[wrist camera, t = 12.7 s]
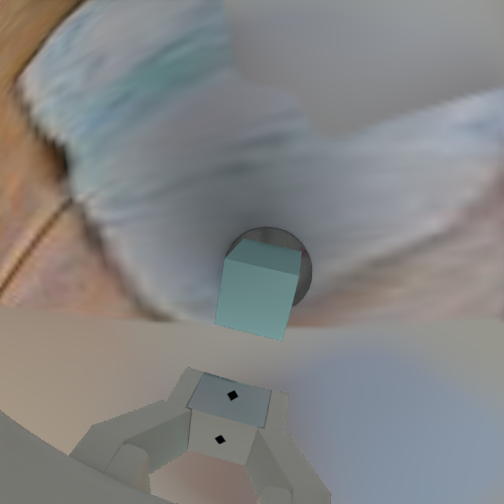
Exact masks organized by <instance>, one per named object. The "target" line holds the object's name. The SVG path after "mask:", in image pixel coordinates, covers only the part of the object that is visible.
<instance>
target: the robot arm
mask: <svg viewBox="0 0 504 504" xmlns="http://www.w3.org/2000/svg"><path fill="white" fill-rule="evenodd" d="M288 403H289V393H286V392H281V391H276V390H270V389H265V388H261V387H257V386H252V385H248V384H244V383H240V382H236V381H233V380H229V379H226V378H223V377H219V376H216V375H212V374H209V373H206V372H202V371H199V370H196V369H193V368H190V367H188V368H187V369H186V370H185V371H184V373H183V374H182V376H181V378H180V379H179V381H178V383H177V384H176V386H175V388H174V390H173V391H172V393H171V395H170V396H169V398H168V400H167V401H164V400H160V401H157V402H154V403H152V404H149V405H147V406H144V407H142V408H139V409H137V410H134V411H131V412H128V413H126V414H123V415H120V416H118V417H115V418H112V419H109V420H107V421H104V422H101V423H98V424H95V425H92V426H91V428H90V429H89V430H88V432H87V433H86V434H85V435H84V437H83V438H82V439H81V441H80V442H79V443H78V444H77V446H76V447H75V449H73V451H72V452H71V453H70V455H69V456H68V455H67V454H65V453H63V452H62V451H60V450H58V449H56V448H55V447H53V446H51V445H50V444H48V443H47V442H45V441H44V440H42V439H40V438H39V437H37V436H36V435H34V434H33V433H31V432H30V431H28V430H27V429H25V428H24V427H22V426H21V425H20V424H18V423H17V422H16V421H14V420H13V419H11V418H10V417H9V416H7V415H6V414H5V413H3V412H2V411H1V410H0V504H177V503H174V502H171V501H168V500H165V499H162V498H159V497H157V496H154V495H151V489H150V478H149V474H151V473H153V472H154V471H156V470H158V469H159V468H161V467H163V466H164V465H166V464H168V463H169V462H171V461H172V460H174V459H176V458H177V457H179V456H180V455H182V454H183V453H185V452H187V450H190V451H193V452H197V453H201V454H205V455H208V456H212V457H216V458H219V459H223V460H226V461H230V462H233V463H237V464H241V465H245V468H246V471H247V473H248V476H249V478H250V480H251V483H252V485H253V488H254V490H255V492H256V494H257V497H258V501H257V503H256V504H331V493H330V491H329V490H328V488H327V487H326V486H325V484H324V483H323V481H322V480H321V479H320V477H319V476H318V474H317V473H316V472H315V470H314V469H313V467H312V466H311V464H310V463H309V462H308V460H307V459H306V457H305V456H304V454H303V453H302V452H301V450H300V448H299V447H298V446H297V444H296V443H295V441H294V439H293V438H292V437H291V435H290V434H286V433H285V427H286V420H287V412H288Z"/></svg>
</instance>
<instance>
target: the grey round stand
mask: <svg viewBox="0 0 504 504" xmlns="http://www.w3.org/2000/svg"><path fill="white" fill-rule="evenodd" d="M243 239H249V240H253V241H258V242H262V243H267V244H271V245H276V246H280V247H284V248H289V249H293V250H298V251H302V255H301V265H300V274H299V279H298V283H297V287H296V291H295V295H294V299H293V303H292V307H293V306H295V305H296V304H298V303H299V302H300V301H301V300H302V299H303V298H304V296H305V295H306V293H307V291H308V289H309V287H310V284H311V279H312V264H311V259H310V256H309V254H308V252H307V250H306V248H305V247H304V245H303V244H302V243H301V242H300V241H299V240H298V239H297V238H296V237H295V236H293V235H292V234H290V233H288V232H286V231H284V230H281V229H278V228H272V227H263V228H257V229H253V230H250V231H248V232H246V233H244V234H243V235H241V236H240V237H239V238H238V239H237V240H236V241H235V242H234V243H233V244H232V245H231V247H230V248H229V250H228V252H227V254H226V257H227V256H228V254H229V253H230V252H231V251H232V250H233V249H234V248H235V247H236V246H237V245H238V244H239V243H240V242H241V241H242V240H243ZM226 257H225V258H226ZM292 307H291V308H292Z"/></svg>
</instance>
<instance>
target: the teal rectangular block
mask: <svg viewBox="0 0 504 504" xmlns="http://www.w3.org/2000/svg"><path fill="white" fill-rule="evenodd" d="M301 255H302V251H298V250H293V249H289V248H284V247H280V246H276V245H271V244H267V243H262V242H258V241H253V240H249V239H243V240H242V241H241V242H240V243H239V244H238V245H237V246H236V247H235V248H234V249H233V250H232V251H231V252H230V253H229V254H228V256H227V257H226V258H225V260H224V266H223V272H222V278H221V284H220V291H219V297H218V303H217V310H216V316H215V323H214V324H216V325H220V326H224V327H228V328H231V329H235V330H239V331H243V332H247V333H251V334H255V335H259V336H264V337H268V338H272V339H277V340H281V341H282V340H283V337H284V334H285V330H286V326H287V322H288V318H289V315H290V311H291V307H292V303H293V299H294V295H295V291H296V287H297V283H298V279H299V274H300V265H301Z"/></svg>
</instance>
